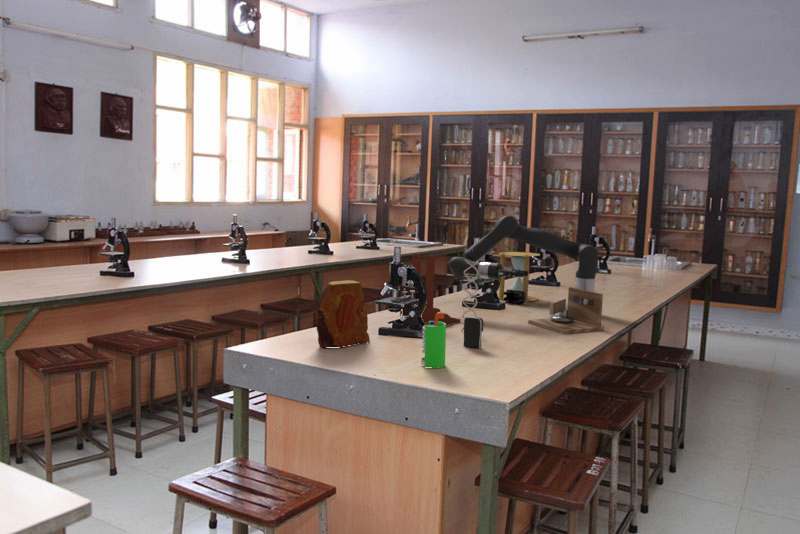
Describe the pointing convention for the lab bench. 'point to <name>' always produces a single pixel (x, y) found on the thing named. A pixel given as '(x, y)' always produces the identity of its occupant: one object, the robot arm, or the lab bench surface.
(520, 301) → the end cap
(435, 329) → the green-shelled ribbed roller
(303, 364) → the lab bench surface
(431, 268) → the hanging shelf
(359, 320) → the fossil rock
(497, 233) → the robot arm
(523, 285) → the hourglass
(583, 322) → the levelling base
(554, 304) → the cam foot
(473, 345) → the battery charger
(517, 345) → the lab bench surface
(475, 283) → the dna model
